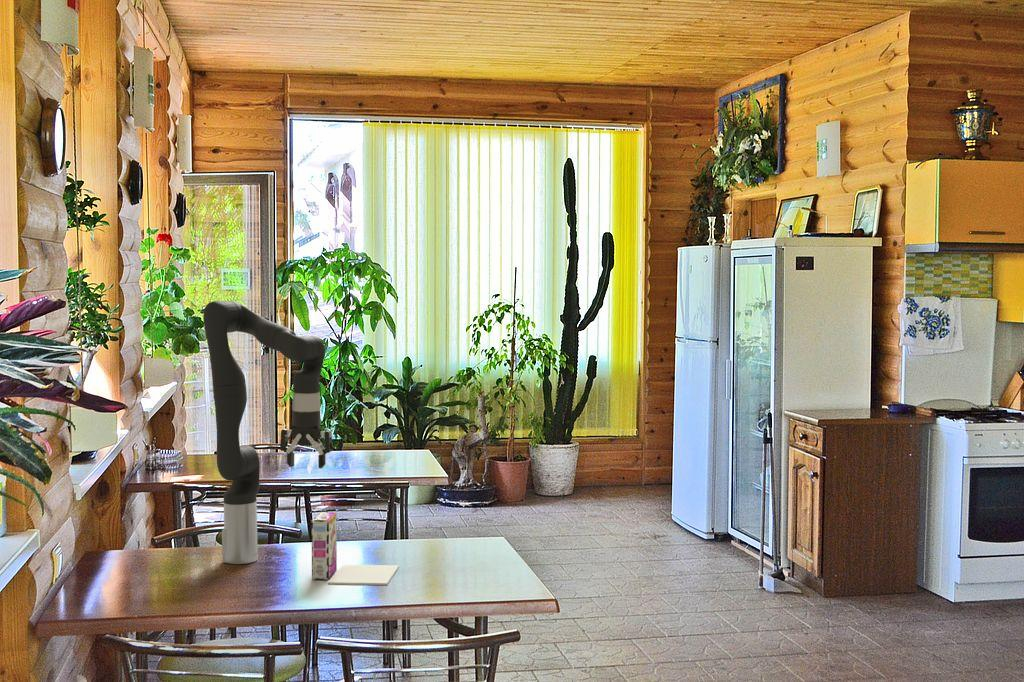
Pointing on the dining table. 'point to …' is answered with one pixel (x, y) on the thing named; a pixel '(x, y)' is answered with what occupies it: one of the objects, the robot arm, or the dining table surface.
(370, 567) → the mat
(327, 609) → the dining table surface
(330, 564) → the candy bar box
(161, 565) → the dining table surface
